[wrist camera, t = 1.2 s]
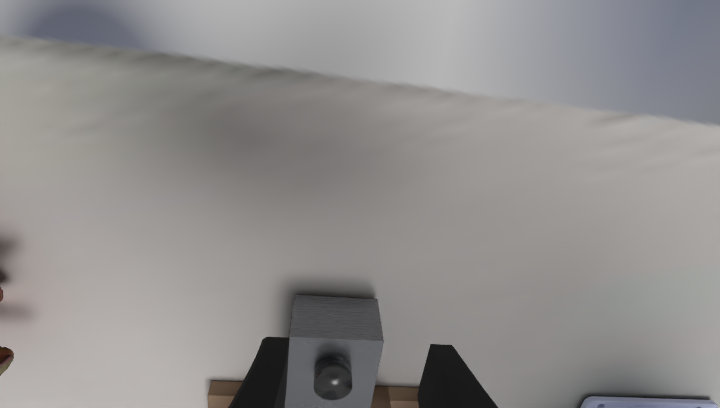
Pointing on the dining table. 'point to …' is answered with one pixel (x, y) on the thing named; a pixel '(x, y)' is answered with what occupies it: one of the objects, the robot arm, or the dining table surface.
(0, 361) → the dragon fruit
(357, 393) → the key bar
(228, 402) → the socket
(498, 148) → the dining table surface
